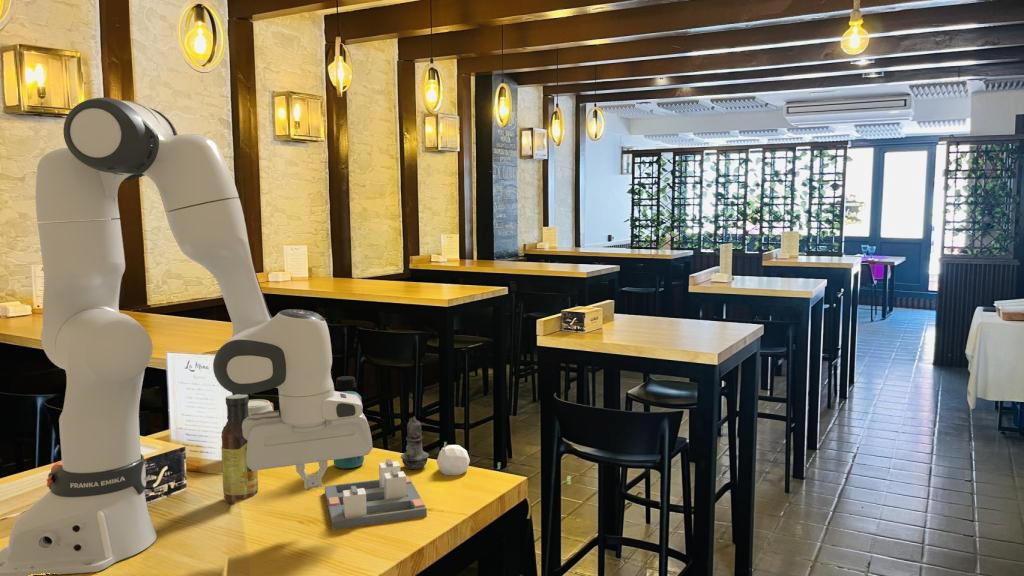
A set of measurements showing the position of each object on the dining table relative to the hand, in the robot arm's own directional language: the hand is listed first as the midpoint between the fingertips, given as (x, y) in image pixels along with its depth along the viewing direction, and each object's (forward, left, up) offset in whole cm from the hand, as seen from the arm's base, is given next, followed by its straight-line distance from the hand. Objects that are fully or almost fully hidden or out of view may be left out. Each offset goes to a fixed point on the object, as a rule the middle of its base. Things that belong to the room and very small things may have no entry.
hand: (313, 486), depth 121 cm
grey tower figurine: (+22, +23, -8) cm, 33 cm away
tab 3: (+15, +6, -7) cm, 17 cm away
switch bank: (+11, +6, -8) cm, 15 cm away
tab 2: (+15, +12, -7) cm, 20 cm away
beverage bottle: (+9, +29, -8) cm, 32 cm away
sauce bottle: (-12, +20, -8) cm, 25 cm away
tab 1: (+7, 0, -7) cm, 10 cm away
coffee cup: (-10, +46, -8) cm, 48 cm away
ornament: (+29, +18, -8) cm, 35 cm away
